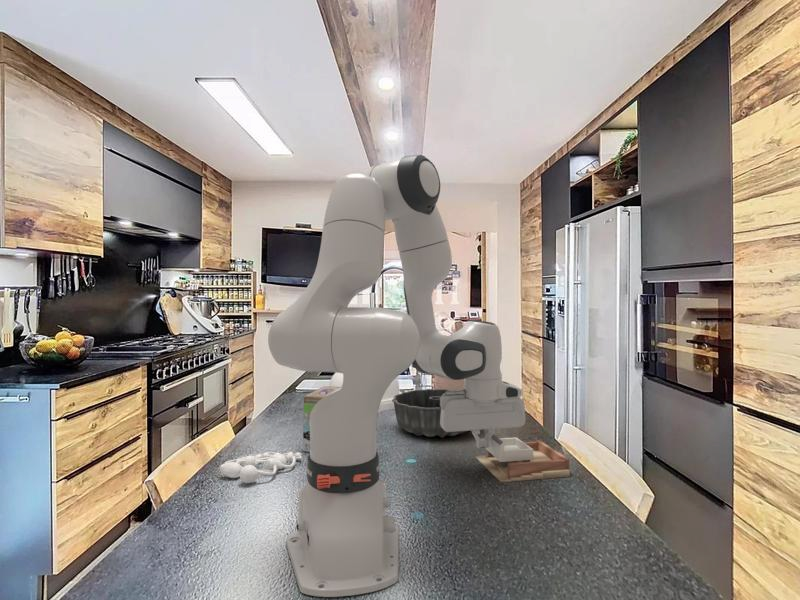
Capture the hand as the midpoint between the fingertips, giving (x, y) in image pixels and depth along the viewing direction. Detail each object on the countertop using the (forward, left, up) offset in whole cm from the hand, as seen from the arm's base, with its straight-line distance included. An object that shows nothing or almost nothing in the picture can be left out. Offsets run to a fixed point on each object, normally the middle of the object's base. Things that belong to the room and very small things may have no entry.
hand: (482, 447), depth 110 cm
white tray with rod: (-1, -6, -4) cm, 7 cm away
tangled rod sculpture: (+9, +52, -6) cm, 53 cm away
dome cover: (+72, +20, -6) cm, 75 cm away
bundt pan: (+32, +3, -5) cm, 33 cm away
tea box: (+24, +35, -5) cm, 43 cm away
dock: (-1, -9, -5) cm, 11 cm away
